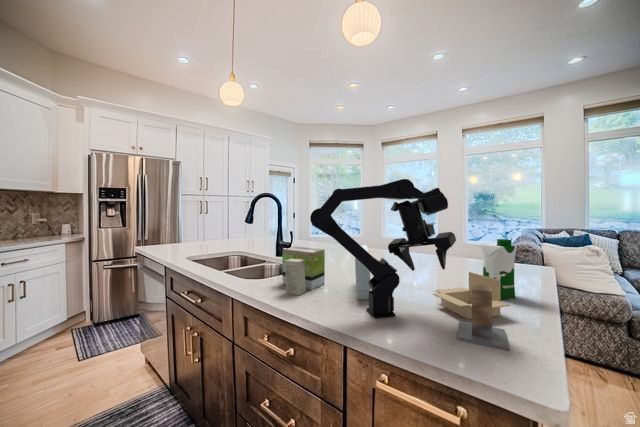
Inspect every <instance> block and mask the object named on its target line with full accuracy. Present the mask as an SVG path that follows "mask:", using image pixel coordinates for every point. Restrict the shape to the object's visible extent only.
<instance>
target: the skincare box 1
mask: <svg viewBox="0 0 640 427" xmlns="http://www.w3.org/2000/svg"><path fill="white" fill-rule="evenodd" d="M285 269H286V284H285V294H286V293H287V294H291V295H296V296H300V295H303V294H305V293H306V292H307V291H306V290H307V289H306V286H305V260H300V259H289V260H285Z"/></svg>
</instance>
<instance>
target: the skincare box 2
mask: <svg viewBox="0 0 640 427" xmlns="http://www.w3.org/2000/svg"><path fill="white" fill-rule="evenodd" d="M359 245H360V246H361V247H363V248H364V249H365V250H366V251H367V252H368V253H369V254H370V252H369V249H368V244H367V245H366V244H365V245H364V244H359ZM354 265H355V266H354V267H355V268H354V269H355V273H354V274H355V289H356V290H355V291H356V293H355V294H356V300H366V301H367V300H368V301H369V291H372V289H371V288H370V286H369V283H368V282H369V281H370V280H371V272H370V271H369V270H368V269H367V268H366V267H365V266H364V265H363V264H362V263H361V262H360V261H359V260H357V259H356V258H355V257H354Z"/></svg>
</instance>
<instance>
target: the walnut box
mask: <svg viewBox="0 0 640 427" xmlns="http://www.w3.org/2000/svg"><path fill="white" fill-rule="evenodd" d="M471 323H472V335H473V336H478V337H483V338H488V339H492V327H493V316H492V289H491V286H484V285H476V284H472V319H471Z"/></svg>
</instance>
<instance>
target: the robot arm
mask: <svg viewBox="0 0 640 427" xmlns="http://www.w3.org/2000/svg"><path fill="white" fill-rule="evenodd" d="M372 199H373V200H374V199H386V200H397V201H402V202H397V201H394V202H393V205H392V206H391V207H390V211H392V212H398V214H399V216H400V219H401V223H402V225H403V227H402V228H401V229H402V232H405V235H406V238H407V239H406V238H405V237H402V238H401V237H399V238H395V239H393V240H392V241H391V242H390V243H388V245H387V250H388V253H389V254H393V256H396V257H397V258H399V259H400V260H401V261H402V262H403V263H404V264H405V265H406V266H407V267H408V269H410V270H411V271H412V272H415V270H416V269H415V265H414V261H413V259H412V258H413V257H412V256H411V253H410V248H413V247H414V248H415V247H423V246H424V247H426V246H431V245H432V246H434V247H435V248H436V249H435V253H436V257H437V259H438V262H439V264H440V267H441V269H442V270H446V262H447V261H446V260H447V252H448V250H449V249H450V248H452V247H453V245H454V244H455V243H456V241H457V238H456V235H455V233H454V232H452V231H446V232H445V231H444V232H440V233H438V234H437V235H436V232H435V227H434V224H433V223H427V221H426V219H423V216H422V214H425V215H426V216H431V215H433V214H436V213H438V212H442V211H446V210H447V209H448V208H449V201H448V198H447V197H446V196H445V194H444V193H443V192H442V191H441V190H440V187H435V188H432V189H430V190H428V191H426V192H423V191H422V190H420V189H419V188H417V187H415V184H414V183H413V182H412V181H411V180H410V179H407V178H402V179H398V180H395V181H390V182H388V183H384V184H381V185H371V186H362V187H361V186H360V187H359V186H358V187H349V188H336V189H334V191H333V192H332V194H331V195H330V197H329V198H328V199H327V200H326V201H325V202H324V203H323V204H322V206H320V208H315V209H314V210H313V211H312V212H311V214H310V217H309V219H310V223H311V225H312V226H313V227H315V228H316V229H318V230H319V231H321V232H323V233H324V234H326V235H328V236H329V237H331V238H333V239H334V240H335V241H336V242H337V243H338V244H340V245H341V247H343V248H344V249H345V250H346V251H347V252H349V253H350V254H351V255H352V256H353V257H354V259H355V258H356V259H357V260H359V261H360V262H361V263H362V264H363V265H364V266H365V267H366V268H367V269H368V270H369V271H370V275H372V278H370V281H369V282H368V283H369V286H370V288H371V291H369V300H368V307H367V308H366V311H367V312H368V313H369V314H370V315H371V316H373V317H374V318H376V319H379V318H387V317H395V316H396V313H395V312H394V311H395V297H393V294H394V292H395V289H396V288H398V286H399V285H400V281H401V280H400V279H401V278H400V275H399V274H398V273H397V272H398V269H396V268H395V267H394V266H393V265H391V264H390V263H389V262H388V261H387V260H386V259H384V257H381V258H380V260H379V259H377V258H376V257H374V256H373V255H371V254H370V252H369V253H368V252H367V251H366V250H365V249H364V248H363V247H361V246H360V245H361V244H359V243H358V242H357V241H356V240H355V239H354V238H352V237H351V235H350V234H348V233H347V232H346V231H345V230H343V228H341V226H340V225H339V224H338V223H337V221H336V220H335V219H334V217H332V215H333V213H334V212H335V211H336V210H337V209H338V207H339V206H340V204H341V203H343V202H351V201H361V200H372ZM403 200H405V201H403ZM410 200H413V201H410ZM432 235H436V236H435V237H432ZM429 237H430V238H429Z"/></svg>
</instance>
